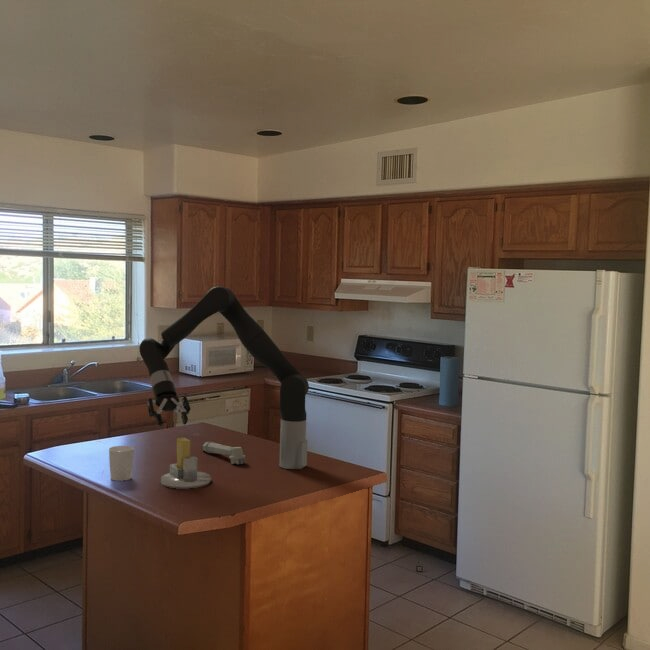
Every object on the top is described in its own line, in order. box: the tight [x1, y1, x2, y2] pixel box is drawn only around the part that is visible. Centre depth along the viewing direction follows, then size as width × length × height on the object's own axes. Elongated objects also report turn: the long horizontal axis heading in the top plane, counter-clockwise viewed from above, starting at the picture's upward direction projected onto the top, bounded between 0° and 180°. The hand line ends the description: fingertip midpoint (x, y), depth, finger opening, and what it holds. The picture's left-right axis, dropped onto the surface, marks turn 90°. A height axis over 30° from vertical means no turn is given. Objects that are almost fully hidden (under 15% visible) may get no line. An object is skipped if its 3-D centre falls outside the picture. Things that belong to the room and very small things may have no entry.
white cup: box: [108, 445, 135, 482], centre depth 229 cm, size 8×8×10 cm
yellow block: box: [176, 437, 191, 469], centre depth 230 cm, size 5×3×12 cm, turn 32°
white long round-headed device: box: [201, 441, 246, 465], centre depth 260 cm, size 5×7×25 cm
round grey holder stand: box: [160, 456, 212, 490], centre depth 228 cm, size 16×16×9 cm
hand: (173, 424), depth 238 cm, fingers open, 8 cm apart
